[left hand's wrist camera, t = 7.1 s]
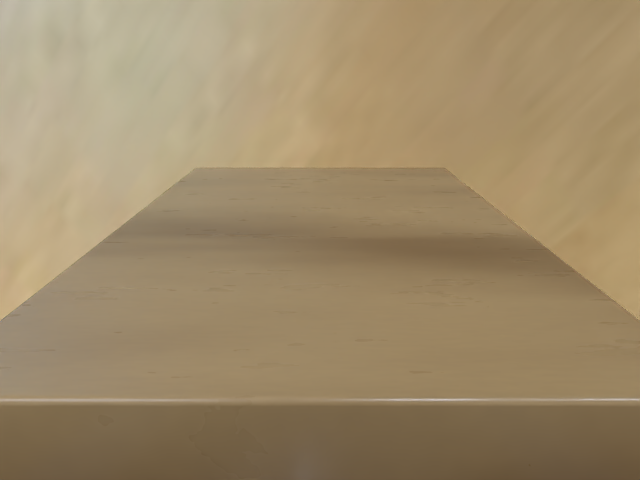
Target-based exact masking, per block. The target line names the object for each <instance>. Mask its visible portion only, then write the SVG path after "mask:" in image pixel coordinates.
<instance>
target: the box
mask: <svg viewBox="0 0 640 480" xmlns="http://www.w3.org/2000/svg"><path fill="white" fill-rule="evenodd" d="M0 480H640V321H639V320H638V319H637V318H635V317H634V316H633V315H631V314H630V313H629V312H628V311H626V310H625V309H624V308H623V307H621V306H620V305H619V304H617V303H616V302H615V301H614V300H612V299H611V298H610V297H609V296H607V295H606V294H605V293H603V292H602V291H601V290H600V289H598V288H597V287H596V286H594V285H593V284H592V283H591V282H589V281H588V280H587V279H586V278H584V277H583V276H582V275H580V274H579V273H578V272H577V271H575V270H574V269H573V268H572V267H570V266H569V265H568V264H566V263H565V262H564V261H563V260H561V259H560V258H559V257H557V256H556V255H555V254H554V253H552V252H551V251H550V250H549V249H547V248H546V247H545V246H543V245H542V244H541V243H540V242H538V241H537V240H536V239H534V238H533V237H532V236H531V235H529V234H528V233H527V232H526V231H524V230H523V229H522V228H520V227H519V226H518V225H517V224H515V223H514V222H513V221H512V220H510V219H509V218H508V217H506V216H505V215H504V214H503V213H501V212H500V211H499V210H497V209H496V208H495V207H494V206H492V205H491V204H490V203H489V202H487V201H486V200H485V199H483V198H482V197H481V196H480V195H478V194H477V193H476V192H475V191H473V190H472V189H471V188H469V187H468V186H467V185H466V184H464V183H463V182H462V181H460V180H459V179H458V178H457V177H455V176H454V175H453V174H452V173H450V172H449V171H448V170H446V169H445V168H195V169H194V170H193V171H191V172H190V173H189V174H187V175H186V176H185V177H184V178H182V179H181V180H180V181H178V182H177V183H176V184H175V185H173V186H172V187H171V188H170V189H168V190H167V191H166V192H164V193H163V194H162V195H161V196H159V197H158V198H157V199H155V200H154V201H153V202H152V203H150V204H149V205H148V206H147V207H145V208H144V209H143V210H141V211H140V212H139V213H138V214H136V215H135V216H134V217H133V218H131V219H130V220H129V221H127V222H126V223H125V224H124V225H122V226H121V227H120V228H118V229H117V230H116V231H115V232H113V233H112V234H111V235H110V236H108V237H107V238H106V239H104V240H103V241H102V242H101V243H99V244H98V245H97V246H95V247H94V248H93V249H92V250H90V251H89V252H88V253H87V254H85V255H84V256H83V257H81V258H80V259H79V260H78V261H76V262H75V263H74V264H72V265H71V266H70V267H69V268H67V269H66V270H65V271H64V272H62V273H61V274H60V275H58V276H57V277H56V278H55V279H53V280H52V281H51V282H49V283H48V284H47V285H46V286H44V287H43V288H42V289H41V290H39V291H38V292H37V293H35V294H34V295H33V296H32V297H30V298H29V299H28V300H26V301H25V302H24V303H23V304H21V305H20V306H19V307H18V308H16V309H15V310H14V311H12V312H11V313H10V314H9V315H7V316H6V317H5V318H3V319H2V320H1V321H0Z"/></svg>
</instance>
